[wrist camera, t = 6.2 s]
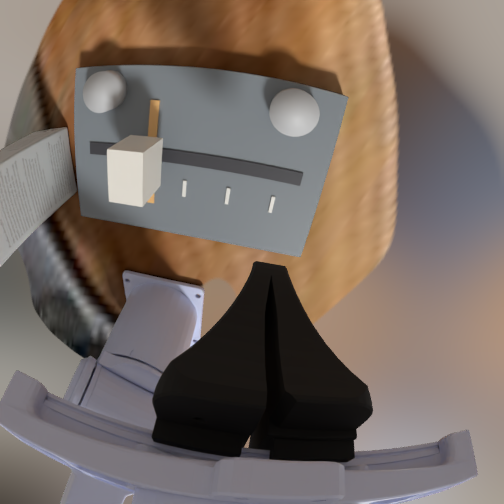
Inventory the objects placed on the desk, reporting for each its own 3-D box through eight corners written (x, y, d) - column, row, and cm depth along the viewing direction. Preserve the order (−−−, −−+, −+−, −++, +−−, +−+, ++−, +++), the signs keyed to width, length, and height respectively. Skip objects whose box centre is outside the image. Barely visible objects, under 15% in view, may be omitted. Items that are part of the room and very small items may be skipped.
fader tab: (166, 178, 19) (142, 207, 16) (137, 174, 19) (109, 201, 16) (169, 133, 17) (143, 152, 14) (138, 130, 17) (107, 149, 14)
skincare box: (34, 130, 19) (-71, 195, 9) (69, 125, 18) (-47, 192, 9) (45, 192, 22) (-40, 273, 12) (79, 193, 22) (-11, 283, 12)
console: (299, 245, 23) (301, 267, 21) (89, 207, 23) (73, 223, 21) (343, 94, 16) (353, 99, 14) (87, 66, 16) (66, 69, 14)
